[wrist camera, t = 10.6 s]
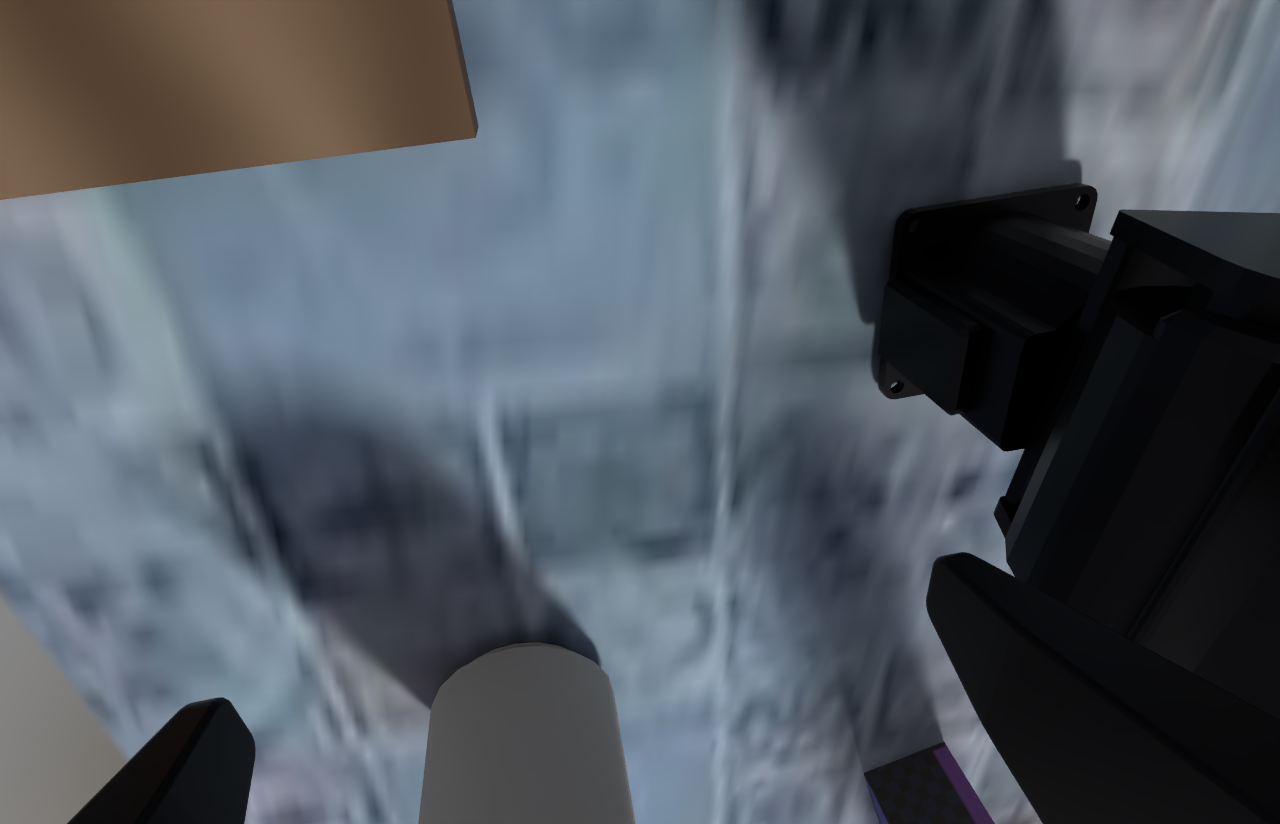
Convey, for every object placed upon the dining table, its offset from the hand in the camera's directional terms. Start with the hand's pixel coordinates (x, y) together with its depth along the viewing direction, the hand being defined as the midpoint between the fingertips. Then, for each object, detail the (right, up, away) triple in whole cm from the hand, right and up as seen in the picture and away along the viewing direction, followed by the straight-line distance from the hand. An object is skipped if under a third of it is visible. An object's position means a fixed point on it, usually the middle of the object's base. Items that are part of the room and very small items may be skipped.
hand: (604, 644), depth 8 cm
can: (-5, -9, +20) cm, 22 cm away
